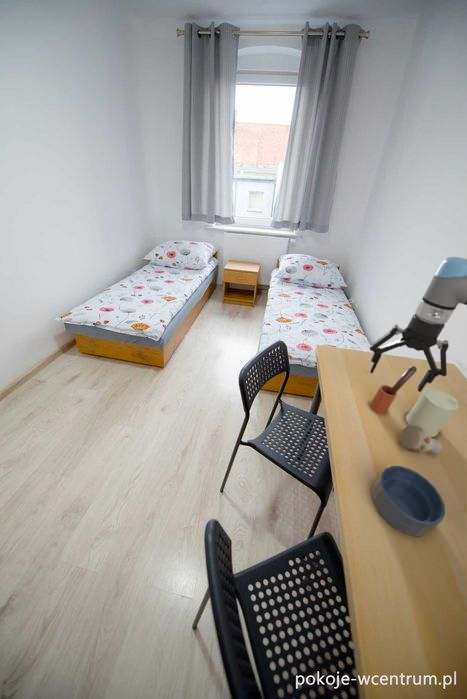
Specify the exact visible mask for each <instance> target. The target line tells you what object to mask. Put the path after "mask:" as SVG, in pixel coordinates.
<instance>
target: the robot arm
mask: <svg viewBox="0 0 467 699" xmlns="http://www.w3.org/2000/svg"><path fill="white" fill-rule="evenodd" d="M459 304H462V305H465V306H467V258H464V257H458V256H449V257H446V258H445V259H443V260H442V261H441V263H440V265H439V267H438V269H437V270H436V271H435V273H434V275H433V276H432V279H431V281H430V283H429V285H428V286H427V288H426V290H425V292H424V295H423V296H422V298H421V300H420V302H419V303H418V305H417V307H416V309H415V312H414V313H415V314H413V315H412V317H411V318H410V321H409V322H408V325H407V326H406V328H401V327H400V326H399V325H398V324H394V325H393V327H391V329H390V330H389V331H388V332H386V333H385V334H383V335H382V336H381V337H380V338H378V339H377V340H375V341H374V342H373V343H371V344H370V346H369V351H370V352H373V355H372V357H371V360H370V362H371V363H372V366H371V369H370V371H369V373H371V374H373V373H374V371H375V370H376V368H377V365H378V363H379V361H380V359H381V357H382V354H384V353H386V352H389V351H391V350H394V349H397V348H399V347H400V348H401V347H404V346H406V347H407V348H408V349H413V350H415V351H417V352H420V351H423V354H424V356H425V358H426V361H427V363H428V365H429V369H428V370H427V371H426V373H425V375H424V376H423V378H422V379H421V380H420V382H419V383H418V385H417V392H419V393H421V392H423V390H424V388H425V386H426V385H427V384H432V383H433V381H434V380H435V378H437V377H438V376H441V377H446V376H447V370H448V369H447V351H448V349H449V346H450V345H449V340H446V339H444V340H439V339H438V338H439V337H440V335H441V333H442V331H443V330H444V328H445V324H447V323H448V321H449V320H450V318H451V316H452V315H453V313H454V311H455V310H456V308H457V307H458V305H459ZM400 334H401V336H402V337H399V338H397V339H395V340H393V341H391V342H388V343H386V342H387V341H389V340H391V339H392V338H393V337H394V336H398V335H400ZM385 343H386V344H385ZM434 346H437V349H438V350H439V358H440V359H439V360H440V368H438V366H437V364H436V361H435V359H434V355H433V354H432V351H431V347H432V348H433V347H434Z"/></svg>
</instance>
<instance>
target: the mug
mask: <svg viewBox="0 0 467 699" xmlns="http://www.w3.org/2000/svg"><path fill="white" fill-rule="evenodd" d="M400 444H401V446H402V447H404V448H405V449H406V450H408V451H409V452H413V453H425V452H426V453H430V454H433V455H436V454H439V453H440V452H441V451H442V445H441V442H440V441H439V440H437V439H435V438H433V437H432V436H429V435H428V434H427V433H426V431H424V430H423V429H422V428H420V427H418V426H413V425H407V426H405V427H404V428H403V429H402V431H401V433H400Z"/></svg>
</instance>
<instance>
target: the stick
mask: <svg viewBox="0 0 467 699" xmlns="http://www.w3.org/2000/svg"><path fill="white" fill-rule="evenodd" d="M417 370H418V369H417V367H416V366H415V365H412V366H409V368H408V369H406V371H405V372H404V373H403V374H402V375H401V376H400V377H399V379H398V380H397V381H396V382H395V383H394V384H393V385H392V386H391V387H392V388H391V389H390V390H389V391H388V392H387V394H389V395H394V394H395V393H396V392H397V393H398V391H399V390H400V389H401V388H402V387H403V386H404V385H405V384H406V383H407V382H408V380H409V379H410V378H411V377H412V376H413V375H414V374H415V373H416V372H417Z"/></svg>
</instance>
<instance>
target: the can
mask: <svg viewBox="0 0 467 699" xmlns="http://www.w3.org/2000/svg"><path fill="white" fill-rule="evenodd" d="M459 408H460V406H459V402H458V401H457V399H456V398H454V397H453V396H452V395H450V394H449V393H448V392H446V391H445V390H441V389H439V388H436V387H435V388H434V387H428V388H425V389H423V391H422V394H421V395H420V397H419V398H418V400H417V401H416V402H415V404H414V406H413V407H412V409H411V410H410V411H409V412H408V414H406V416H405V420H406V422H407V424H408V426H410V425H413V426H418V427H420V428H422V429H423V430H424V431H426V433H427V434H428V435H429V436H430V437H436V436H438V434H439V432H440V431H441V430H442V429H443V427H444V426H445V425H446V423H447V422H448V421H449V419H450V418H451V417H452V416H453V415H454V414H455V413H456V412H457V411H458V409H459Z"/></svg>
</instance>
